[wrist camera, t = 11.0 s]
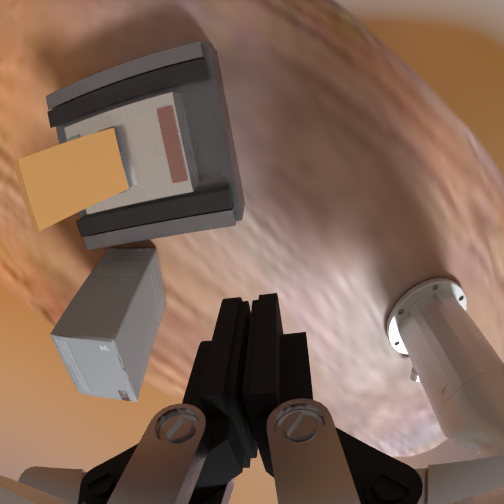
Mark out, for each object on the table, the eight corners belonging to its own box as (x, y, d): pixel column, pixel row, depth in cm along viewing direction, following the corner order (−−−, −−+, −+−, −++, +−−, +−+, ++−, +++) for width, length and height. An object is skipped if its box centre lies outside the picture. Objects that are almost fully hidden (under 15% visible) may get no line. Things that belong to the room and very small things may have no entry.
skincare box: (109, 246, 36) (39, 327, 21) (165, 246, 36) (112, 338, 21) (122, 304, 39) (71, 394, 25) (173, 308, 39) (137, 407, 25)
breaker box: (244, 203, 33) (240, 233, 26) (109, 227, 35) (75, 260, 27) (216, 51, 26) (202, 33, 19) (75, 95, 28) (30, 98, 21)
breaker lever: (134, 188, 24) (40, 232, 18) (123, 188, 25) (34, 231, 19) (118, 124, 22) (17, 158, 16) (108, 128, 22) (12, 161, 16)
